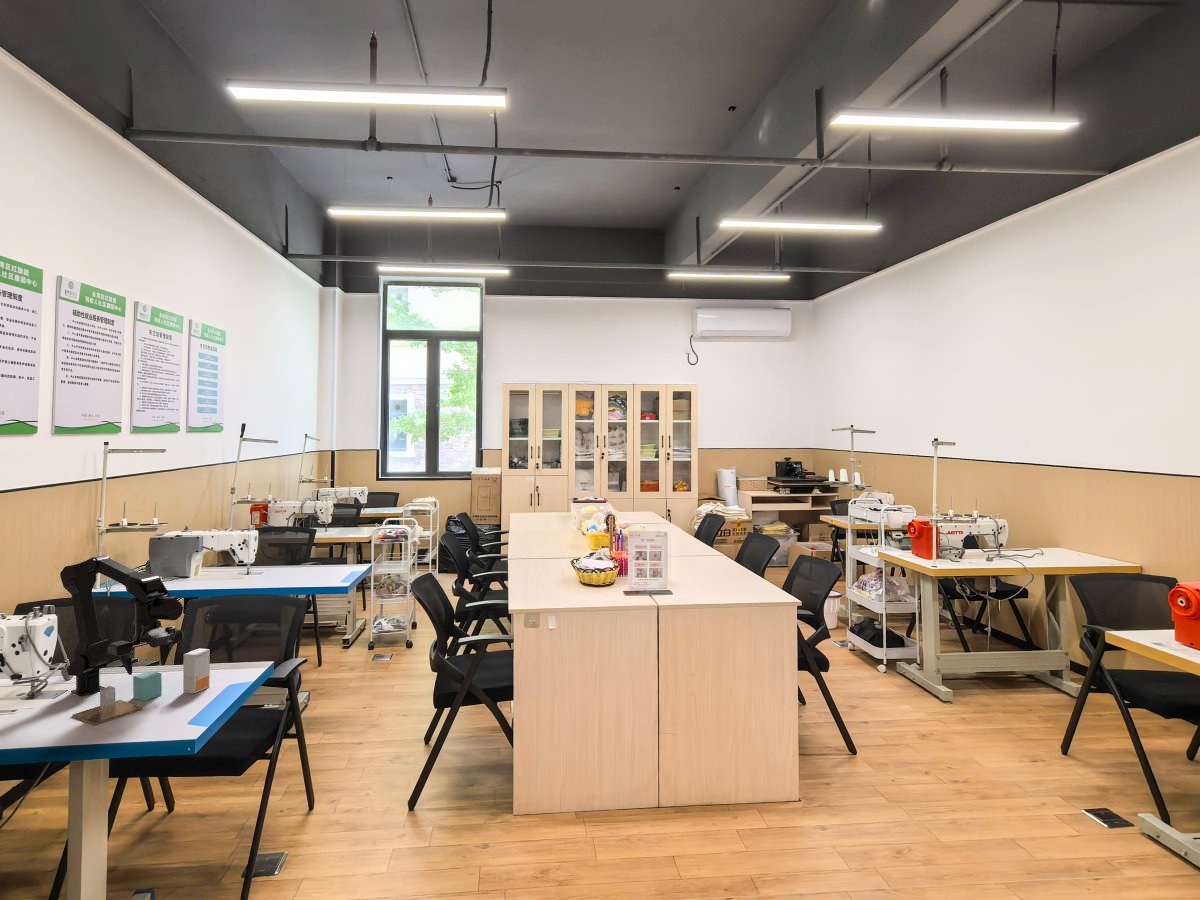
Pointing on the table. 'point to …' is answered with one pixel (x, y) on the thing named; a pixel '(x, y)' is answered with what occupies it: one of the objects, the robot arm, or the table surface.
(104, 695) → the brown square base plate
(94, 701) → the table surface
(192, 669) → the skincare box
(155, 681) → the teal rectangular block
